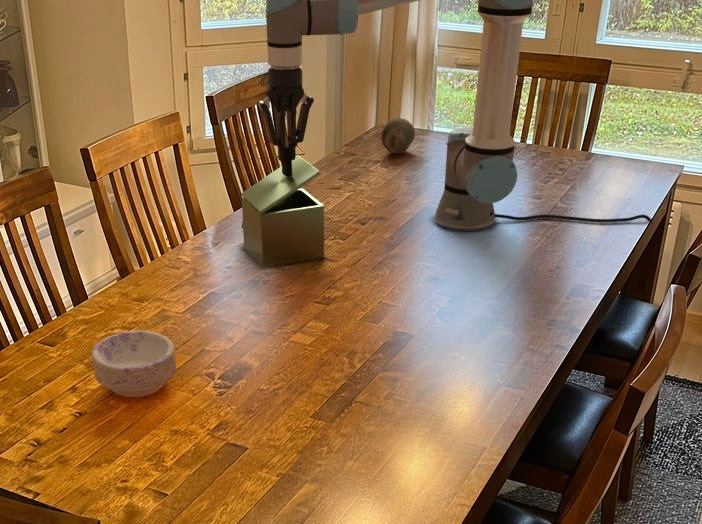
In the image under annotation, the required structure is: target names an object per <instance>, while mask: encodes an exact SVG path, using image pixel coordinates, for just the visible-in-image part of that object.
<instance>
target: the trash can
mask: <svg viewBox="0 0 702 524" xmlns="http://www.w3.org/2000/svg"><path fill="white" fill-rule="evenodd" d="M241 213H242V222H243V229H242V231H243V233H242V234H243V249H244V250H245V251H246V252H247V253H248V254H249V255H250V257H251V258H252V259H253V260H254V261H255V262H256V263H257V264H258V265H259V266H260V267H261V268H262V269H268V268H275V267H280V266H287V265H292V264H298V263H299V264H300V263H305V262H310V261H316V260H323V259H325V205H324V204H323V203H322V202H320V201H319V200H317V199H316V197H314V196H312V195H311V194H310V193H309V192H308V191H306V190H305V189H304V188H300V189H298V190H297V191H295V192H294V193H292V194H291V195H289V196H288V197H286V198H285V199H283V200H282V201H281V202H279V203H278V204H276V205H275V206H273V207H272V208H270V209H269V210H267V211H266V212H264V213H263V214H261V213H260V212H259V211H257V210H256V209H255V208H254V207H253V206H252V205H251V204H250V203H249V202H248V201H247V200H246V199H245V198H244V197H242V196H241Z"/></svg>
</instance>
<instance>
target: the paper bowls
mask: <svg viewBox="0 0 702 524" xmlns="http://www.w3.org/2000/svg"><path fill="white" fill-rule="evenodd" d="M91 360H92V365H93V373H94V377H95V380H96V381H97V383H98V384H99V385H100V386H103V387H104V388H106V389H108V390H110V391H112V392H113V393H114V394H116V395H117V396H121V397H125V398H142V397H146V396H150V395H153V394H155V393H157V392H158V391H160V390H161V389H162V388H163V387H164V385H165V383H166V382H168V381H170V380H171V379H172V378H173V377H174V375H175V374H176V372H177V362H176V352H175V346H174V342H173V341H172V340H171V339H170V338H168V337H167V336H165V335H163V334H162V333H161V334H160V333H158V332H154V331H148V330H130V331H123V332H119V333H115V334H112V335H110V336H107V337H105V338H103V339H101V340H100V341H99V342H96V344H95V345H94V347H93V349H92V351H91Z"/></svg>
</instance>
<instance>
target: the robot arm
mask: <svg viewBox="0 0 702 524" xmlns="http://www.w3.org/2000/svg"><path fill="white" fill-rule="evenodd" d="M265 1H266V2H265V22H266V23H265V24H266V51H267V64H268V68H267V84H268V89H267V92H266V96H265V97H264V98H263V99H262V100H258V101H257V102H256V103H257V106H258V108H259V110H260V111H261V113H262V118H263V121H264V126H265V129H266V133H267V137H268V140H269V143H270V144H272V145H273V146H275V147H276V146H277V159H278V161H280V162H281V166H282V174H284V175H285V176H286V177H288V176H292V160H295V158H296V156H297V153H296V148H297V147H298V144H299V143H303V142H304V140H305V135H306V130H307V125H308V119H309V115H310V109H311V107H312V105H313V104H314V102H315V98H314V97H312V96H310V95H309V94H305V89H304V88H303V67H302V66H301V65H302V64H303V36H306V37H307V36H329V35H333V36H334V35H339V36H343V35H347V34H349V35H350V34H353V33H355V32H356V30H357V28H358V23H359V16H360V15H363V14H367V13H373V12H377V11H381V10H385V9H390V8H393V7H398V6H403V5H406V4H411V3H415V2H420V1H421V0H265ZM533 5H534V0H478V4H477V14H478V15H479V17H481V19H482V21H483V24H482V34H481V43H480V53H479V63H478V72H477V73H478V74H477V82H476V83H477V84H476V93H475V102H474V103H475V104H474V113H473V121H472V122H473V123H472V127H459V128H455V129H452V130H451V131H449V133H448V136H447V142H446V157H445V158H446V159H445V172H444V173H445V175H444V189H443V192H442V195H441V198H440V200H439V203H438V205H437V208H436V210H435V215H434V219H435V220H434V221H435V223H436V224H437V225H438V226H440V227H443V228H445V229H448V230H454V231H460V232H475V231H481V230H485V229H489V228H491V227H492V226H493V225H494V224H495V221H496V218H498V219H507V220H514V221H529V220H536V219H558V220H567V221H579V222H587V223H619V222H620V223H621V222H632V221H635V220H638V219H645V220H646V221H648V222H652V221H653V220H652V218H651V217H650V216H649V215H646V214H637V215H634V216H629V217H622V218H589V217H588V218H587V217H579V216H568V215H559V214H535V215H528V216H514V215H507V214H500V213H496V212H495V208H494V204H496V203H499V202H500V201H502V200H504V199H505V198H506V197H507V196H509V195H510V194H511V193H512V191H514V189H515V186H516V184H517V181H518V169H517V166H516V164H515V162H514V156H515V155H514V154H515V146H516V141H515V139H514V138H513V137H512V136H511V134H510V133H511V126H512V117H513V109H514V100H515V93H516V85H517V84H516V83H517V77H518V68H519V61H520V60H519V59H520V51H521V43H522V36H523V27H524V23H525V21H526V20H527V19H528V18H529V17H531V16H532V12H533ZM300 104H301V105H300ZM271 105H272V106H273V108H274V110H275V111H274V112H275V116H276V117H275V118H276V120H275V123H276V125H275V124H274V121H273V116H272V113H271V110H270V108H271ZM299 105H300V110H299V114H298V118H297V108H298V107H299ZM275 126H276V128H275ZM286 131H287V132H286ZM286 133H287V135H286ZM286 136H287V137H286ZM286 138H287V143H286Z"/></svg>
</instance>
